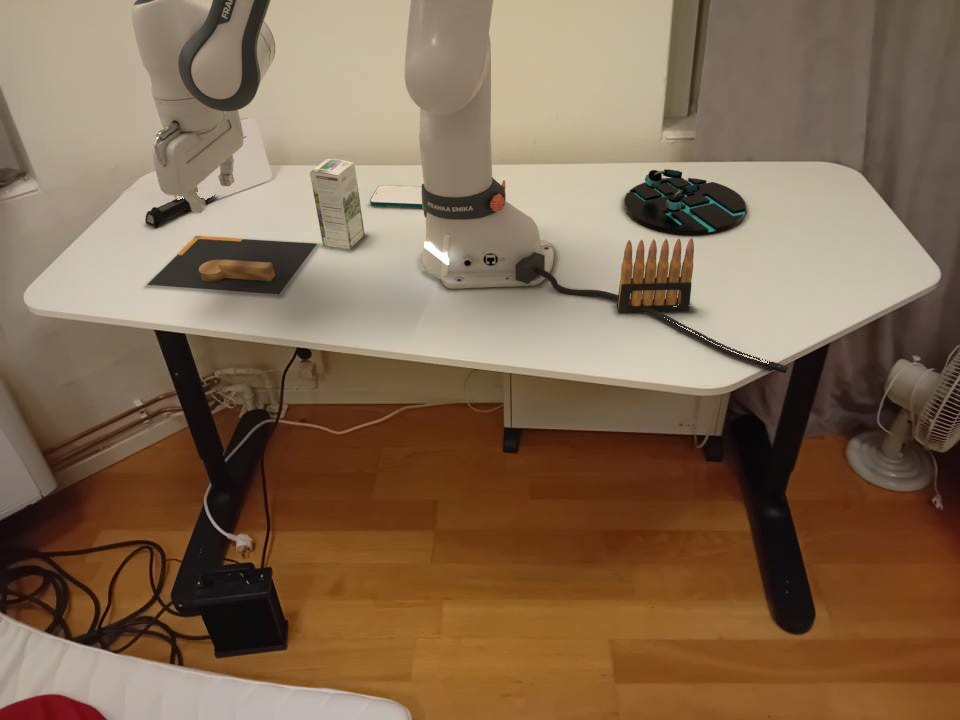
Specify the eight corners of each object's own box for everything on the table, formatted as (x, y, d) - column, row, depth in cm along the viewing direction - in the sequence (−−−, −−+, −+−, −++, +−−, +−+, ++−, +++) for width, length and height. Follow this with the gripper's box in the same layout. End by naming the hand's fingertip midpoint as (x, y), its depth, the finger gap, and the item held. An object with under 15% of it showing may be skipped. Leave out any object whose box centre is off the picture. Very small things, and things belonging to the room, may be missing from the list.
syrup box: (338, 232, 138) (324, 157, 130) (366, 236, 137) (354, 160, 128) (322, 246, 134) (307, 170, 125) (351, 251, 133) (338, 174, 124)
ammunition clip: (617, 313, 113) (623, 243, 106) (616, 306, 115) (621, 237, 107) (689, 311, 113) (699, 241, 105) (686, 304, 114) (697, 234, 107)
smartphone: (456, 191, 150) (379, 188, 152) (456, 187, 149) (379, 184, 152) (449, 210, 144) (369, 206, 146) (449, 205, 143) (368, 202, 145)
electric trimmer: (222, 199, 153) (218, 185, 151) (156, 229, 143) (151, 214, 141) (211, 195, 154) (207, 181, 153) (145, 224, 145) (139, 209, 143)
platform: (700, 174, 151) (704, 143, 147) (770, 219, 134) (777, 185, 130) (603, 195, 145) (604, 164, 141) (664, 245, 129) (668, 211, 125)
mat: (317, 245, 135) (317, 243, 135) (279, 296, 122) (278, 293, 121) (196, 238, 139) (196, 235, 139) (147, 286, 126) (146, 284, 126)
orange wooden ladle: (279, 271, 127) (275, 258, 126) (267, 286, 124) (263, 272, 122) (209, 266, 130) (205, 253, 128) (196, 281, 126) (191, 267, 124)
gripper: (172, 137, 101) (200, 229, 109) (240, 88, 117) (259, 171, 125) (131, 136, 102) (161, 227, 110) (203, 87, 118) (225, 170, 126)
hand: (214, 197), depth 118 cm, fingers open, 8 cm apart
